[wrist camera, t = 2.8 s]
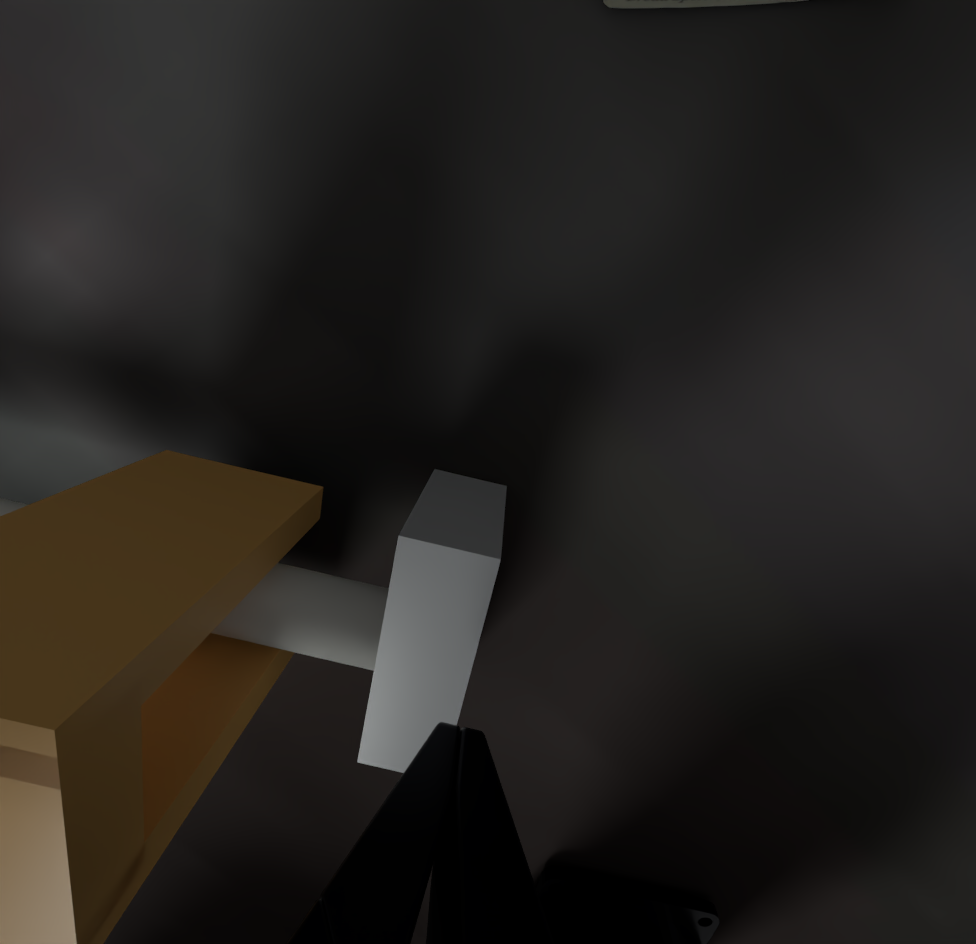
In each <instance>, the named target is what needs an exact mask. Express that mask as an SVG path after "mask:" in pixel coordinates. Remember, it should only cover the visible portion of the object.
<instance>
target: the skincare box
mask: <svg viewBox="0 0 976 944" xmlns="http://www.w3.org/2000/svg"><path fill="white" fill-rule="evenodd" d="M798 1H807V0H603V2H604V4H605V5H606V6H608V7H609V8H688V7H708V6H736V5H750V4H769V3H781V2H798Z"/></svg>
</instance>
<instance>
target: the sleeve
mask: <svg viewBox="0 0 976 944" xmlns="http://www.w3.org/2000/svg"><path fill="white" fill-rule="evenodd" d="M322 496H323V487H322V486H317V485H313V484H309V483H305V482H300V481H296V480H292V479H288V478H283V477H279V476H275V475H271V474H266V473H262V472H258V471H254V470H249V469H245V468H241V467H237V466H232V465H228V464H224V463H220V462H215V461H211V460H207V459H203V458H198V457H194V456H190V455H186V454H181V453H177V452H173V451H168V450H165V451H163V452H160V453H158V454H155V455H153V456H150V457H148V458H145V459H143V460H140V461H138V462H135V463H132V464H130V465H127V466H125V467H122V468H120V469H117V470H115V471H112V472H110V473H107V474H105V475H102V476H100V477H97V478H95V479H92V480H90V481H87V482H85V483H82V484H80V485H77V486H75V487H72V488H70V489H67V490H65V491H62V492H60V493H57V494H55V495H52V496H50V497H47V498H45V499H42V500H40V501H37V502H35V503H32V504H30V505H27V506H25V507H22V508H20V509H17V510H15V511H12V512H10V513H7V514H5V515H2V516H0V944H103V943H104V942H105V940H106V939H107V937H108V936H109V934H110V933H111V931H112V930H113V928H114V927H115V925H116V923H117V922H118V920H119V919H120V917H121V916H122V914H123V913H124V911H125V910H126V908H127V907H128V905H129V904H130V902H131V901H132V899H133V898H134V896H135V895H136V893H137V892H138V890H139V889H140V887H141V885H142V884H143V882H144V881H145V879H146V878H147V876H148V875H149V873H150V872H151V870H152V869H153V867H154V866H155V864H156V863H157V861H158V860H159V858H160V857H161V855H162V854H163V852H164V850H165V849H166V847H167V846H168V844H169V843H170V841H171V840H172V838H173V837H174V835H175V834H176V832H177V831H178V829H179V828H180V826H181V825H182V823H183V822H184V820H185V819H186V817H187V816H188V814H189V812H190V811H191V809H192V808H193V806H194V805H195V803H196V802H197V800H198V799H199V797H200V796H201V794H202V793H203V791H204V790H205V788H206V787H207V785H208V784H209V782H210V781H211V779H212V777H213V776H214V774H215V773H216V771H217V770H218V768H219V767H220V765H221V764H222V762H223V761H224V759H225V758H226V756H227V755H228V753H229V752H230V750H231V749H232V747H233V746H234V744H235V743H236V741H237V739H238V738H239V736H240V735H241V733H242V732H243V730H244V729H245V727H246V726H247V724H248V723H249V721H250V720H251V718H252V717H253V715H254V714H255V712H256V711H257V709H258V708H259V706H260V704H261V703H262V701H263V700H264V698H265V697H266V695H267V694H268V692H269V691H270V689H271V688H272V686H273V685H274V683H275V682H276V680H277V679H278V677H279V676H280V674H281V673H282V671H283V669H284V668H285V666H286V665H287V663H288V662H289V660H290V659H291V657H292V656H293V654H294V653H295V652H291V651H287V650H282V649H278V648H274V647H269V646H265V645H261V644H256V643H252V642H248V641H243V640H239V639H235V638H230V637H226V636H222V635H217V634H213V633H211V632H212V631H213V630H214V629H215V628H216V627H217V626H218V625H219V624H220V623H221V622H222V621H223V620H224V619H225V617H226V616H227V615H228V614H229V613H230V612H231V611H232V610H233V609H234V608H235V607H236V606H237V605H238V604H239V603H240V602H241V601H242V600H243V599H244V598H245V597H246V596H247V594H248V593H249V592H250V591H251V590H252V589H253V588H254V587H255V586H256V585H257V584H258V583H259V582H260V581H261V580H262V579H263V578H264V577H265V576H266V575H267V574H268V572H269V571H270V570H271V569H272V568H273V567H274V566H275V565H276V564H277V563H278V562H279V561H280V560H281V559H282V558H283V557H284V556H285V555H286V554H287V553H288V552H289V551H290V549H291V548H292V547H293V546H294V545H295V544H296V543H297V542H298V541H299V540H300V539H301V538H302V537H303V536H304V535H305V534H306V533H307V532H308V531H309V530H310V529H311V527H312V526H313V525H314V524H315V523H316V522H317V521H318V520H319V519H320V512H321V504H322Z"/></svg>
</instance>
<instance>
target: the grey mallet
mask: <svg viewBox="0 0 976 944" xmlns="http://www.w3.org/2000/svg"><path fill="white" fill-rule="evenodd" d="M506 490H507V486H505V485H500V484H496V483H492V482H488V481H483V480H479V479H475V478H471V477H467V476H462V475H458V474H454V473H450V472H445V471H441V470H437V469H434V471H433V473H432V475H431V476H430V478H429V480H428V482H427V484H426V486H425V488H424V489H423V491H422V493H421V495H420V497H419V499H418V501H417V502H416V504H415V506H414V508H413V510H412V512H411V514H410V515H409V517H408V519H407V521H406V523H405V525H404V527H403V528H402V530H401V532H400V534H399V536H398V542H397V547H396V553H395V558H394V564H393V569H392V575H391V580H390V586H389V588H385V587H381V586H376V585H372V584H368V583H364V582H359V581H355V580H351V579H346V578H342V577H338V576H333V575H329V574H325V573H321V572H316V571H312V570H308V569H303V568H299V567H295V566H290V565H286V564H282V563H277V564H276V565H275V566H274V567H273V568H272V569H271V570H270V571H269V572H268V574H267V575H266V576H265V577H264V578H263V579H262V580H261V581H260V582H259V583H258V584H257V585H256V586H255V587H254V588H253V589H252V590H251V591H250V592H249V593H248V594H247V596H246V597H245V598H244V599H243V600H242V601H241V602H240V603H239V604H238V605H237V606H236V607H235V608H234V609H233V610H232V611H231V612H230V613H229V614H228V615H227V616H226V617H225V619H224V620H223V621H222V622H221V623H220V624H219V625H218V626H217V627H216V628H215V629H214V630H213V631H212V632H211V633H213V634H217V635H222V636H226V637H230V638H235V639H239V640H243V641H248V642H252V643H256V644H261V645H265V646H269V647H274V648H278V649H282V650H287V651H291V652H295V653H300V654H304V655H308V656H313V657H317V658H321V659H326V660H330V661H334V662H339V663H343V664H347V665H352V666H356V667H360V668H365V669H369V670H373V671H374V673H373V679H372V684H371V690H370V695H369V701H368V706H367V712H366V717H365V723H364V728H363V734H362V739H361V745H360V750H359V756H358V761H357V762H358V763H363V764H367V765H371V766H376V767H380V768H385V769H389V770H393V771H398V772H402V773H404V772H405V770H406V769H407V768H408V766H409V765H410V763H411V762H412V760H413V759H414V757H415V756H416V754H417V753H418V751H419V750H420V748H421V747H422V746H423V744H424V743H425V741H426V740H427V738H428V737H429V735H430V734H431V732H432V731H433V729H434V728H435V726H436V725H437V724H438V723H439V722H445V723H449V724H453V725H457V722H458V718H459V714H460V711H461V707H462V703H463V699H464V696H465V692H466V688H467V684H468V681H469V677H470V673H471V669H472V666H473V662H474V658H475V655H476V651H477V647H478V643H479V640H480V636H481V632H482V628H483V625H484V621H485V617H486V613H487V610H488V606H489V602H490V599H491V595H492V591H493V587H494V584H495V580H496V576H497V572H498V569H499V565H500V561H501V553H502V540H503V527H504V515H505V502H506ZM27 505H28V504H24V503H20V502H16V501H11V500H7V499H3V498H0V516H2V515H5V514H7V513H10V512H12V511H15V510H17V509H20V508H22V507H25V506H27Z"/></svg>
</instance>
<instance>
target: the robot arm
mask: <svg viewBox="0 0 976 944" xmlns="http://www.w3.org/2000/svg"><path fill="white" fill-rule="evenodd" d="M432 866H433V869H432ZM431 869H432V879H431V889H430V901H429V914H428V927H427V939H426V944H707V943H708V941H709V940H710V938H711V937H712V935H713V933H714V932H715V930H716V929H717V927H718V925H719V922H720V921H719V918H718V915H717V912H716V909H715V906H714V904H712V903H711V902H709V901H707V900H702V899H698V898H694V897H689V896H685V895H680V894H676V893H672V892H667V891H663V890H658V889H654V888H650V887H645V886H641V885H636V884H632V883H627V882H623V881H619V880H614V879H610V878H605V877H601V876H597V875H592V874H588V873H583V872H579V871H575V870H570V869H566V868H561V867H554V866H553V867H548V868H546V869H545V870H544V871H543V872H542V874H541V876H540V879H539V881H538V884H537V886H536V887H535V884H534V881H533V878H532V875H531V872H530V869H529V866H528V863H527V860H526V857H525V854H524V851H523V848H522V845H521V842H520V839H519V836H518V833H517V830H516V827H515V824H514V821H513V818H512V815H511V812H510V809H509V806H508V803H507V801H506V798H505V795H504V792H503V789H502V786H501V783H500V780H499V777H498V774H497V771H496V768H495V765H494V762H493V759H492V756H491V753H490V750H489V747H488V744H487V741H486V738H485V735H484V733H483V732H482V731H479V730H475V729H471V728H466V727H464V728H462V729H461V730H460V727H459V726H457V725H453V724H449V723H445V722H439V723H438V724H437V725H436V726H435V728H434V729H433V731H432V732H431V734H430V735H429V737H428V738H427V740H426V741H425V743H424V744H423V746H422V747H421V748H420V750H419V751H418V753H417V754H416V756H415V757H414V759H413V760H412V762H411V763H410V765H409V766H408V768H407V769H406V770H405V772H404V773H403V775H402V776H401V778H400V779H399V781H398V782H397V784H396V785H395V787H394V788H393V790H392V791H391V792H390V794H389V795H388V797H387V798H386V800H385V801H384V803H383V804H382V806H381V807H380V809H379V810H378V812H377V813H376V814H375V816H374V817H373V819H372V820H371V822H370V823H369V825H368V826H367V828H366V829H365V831H364V832H363V834H362V835H361V836H360V838H359V839H358V841H357V842H356V844H355V845H354V847H353V848H352V850H351V851H350V853H349V854H348V856H347V857H346V858H345V860H344V861H343V863H342V864H341V866H340V867H339V869H338V870H337V872H336V873H335V875H334V876H333V878H332V879H331V880H330V882H329V883H328V885H327V886H326V888H325V889H324V891H323V892H322V894H321V896H320V899H318V900H317V901H316V902H315V903H314V905H313V906H312V908H311V909H310V911H309V912H308V914H307V915H306V917H305V918H304V920H303V921H302V922H301V924H300V925H299V927H298V928H297V930H296V931H295V932H294V934H293V935H292V936H291V938H290V939H289V941H288V942H287V943H286V944H410V943H411V939H412V936H413V932H414V929H415V925H416V922H417V918H418V915H419V911H420V908H421V904H422V901H423V897H424V894H425V890H426V887H427V883H428V880H429V876H430V873H431Z"/></svg>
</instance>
